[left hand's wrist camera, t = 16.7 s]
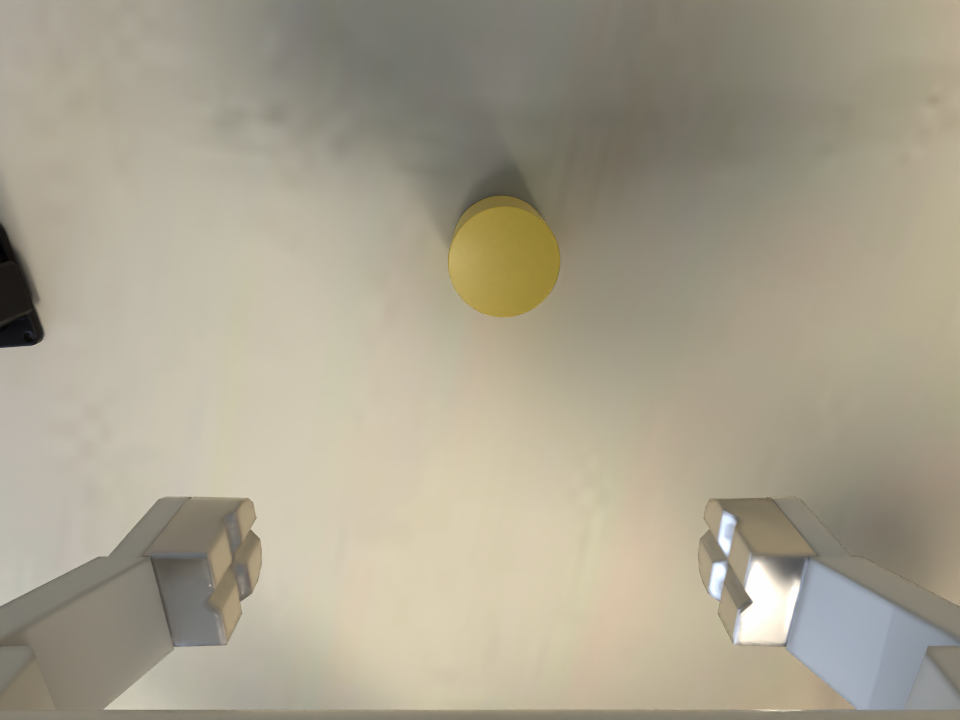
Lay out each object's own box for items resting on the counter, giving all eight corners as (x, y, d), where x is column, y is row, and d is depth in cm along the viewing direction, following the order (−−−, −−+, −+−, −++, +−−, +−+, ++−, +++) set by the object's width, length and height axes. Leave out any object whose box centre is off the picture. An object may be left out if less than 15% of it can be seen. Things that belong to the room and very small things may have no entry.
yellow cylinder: (452, 194, 29) (447, 204, 25) (552, 196, 29) (564, 207, 25) (452, 291, 31) (447, 316, 27) (546, 293, 31) (556, 318, 27)
